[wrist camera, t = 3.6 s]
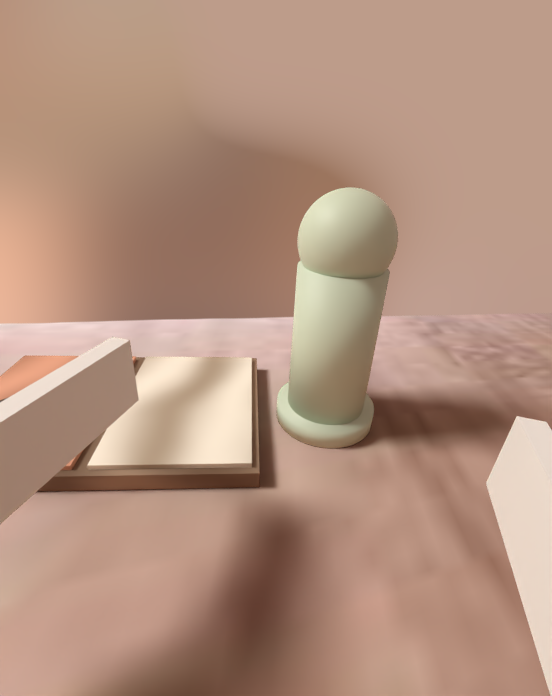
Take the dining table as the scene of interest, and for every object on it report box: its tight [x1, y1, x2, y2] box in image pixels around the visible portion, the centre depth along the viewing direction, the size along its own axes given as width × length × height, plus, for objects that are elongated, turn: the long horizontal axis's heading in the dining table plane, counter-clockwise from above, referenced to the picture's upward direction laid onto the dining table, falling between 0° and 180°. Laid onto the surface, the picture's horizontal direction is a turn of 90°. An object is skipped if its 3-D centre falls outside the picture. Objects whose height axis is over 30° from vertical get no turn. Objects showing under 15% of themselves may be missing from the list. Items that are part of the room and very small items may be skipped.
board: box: [0, 356, 260, 491], centre depth 23 cm, size 18×12×1 cm, turn 94°
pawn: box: [277, 188, 398, 448], centre depth 21 cm, size 6×6×14 cm
